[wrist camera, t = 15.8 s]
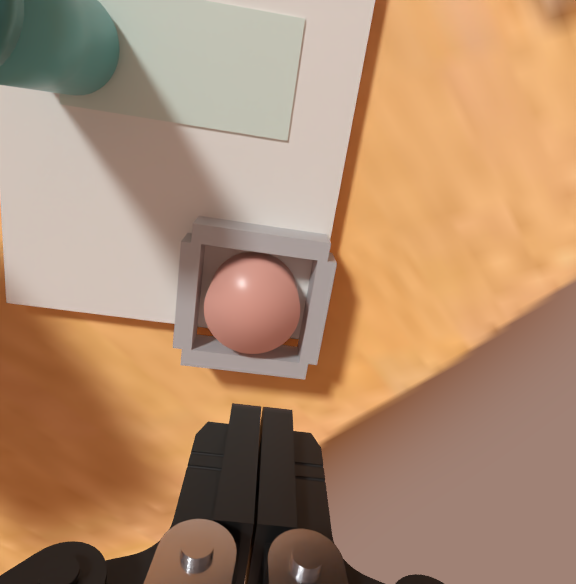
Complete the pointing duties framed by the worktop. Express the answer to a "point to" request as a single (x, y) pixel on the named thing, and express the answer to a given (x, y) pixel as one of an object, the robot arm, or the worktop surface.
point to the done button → (252, 303)
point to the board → (187, 167)
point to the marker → (57, 45)
